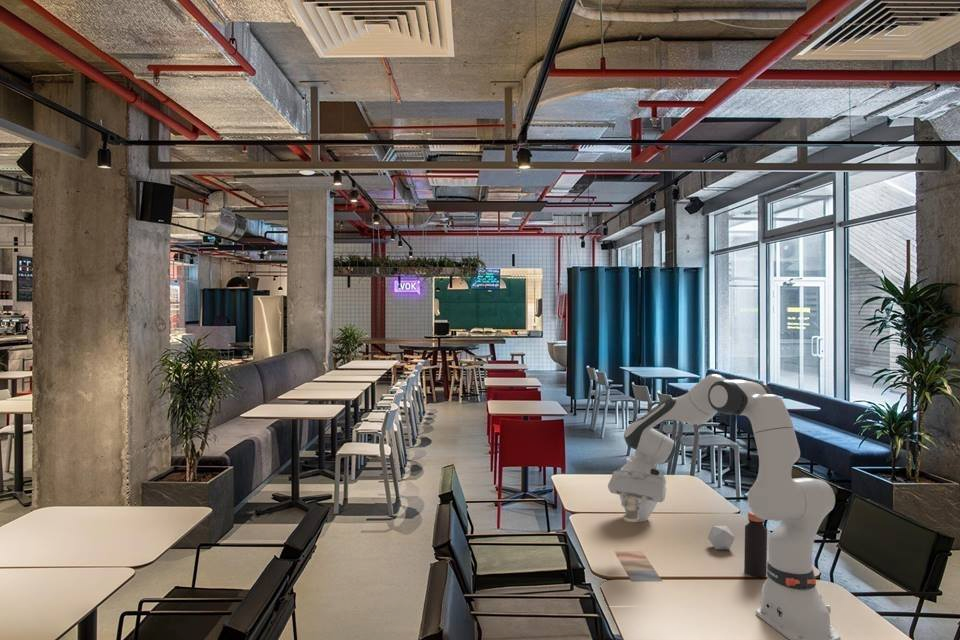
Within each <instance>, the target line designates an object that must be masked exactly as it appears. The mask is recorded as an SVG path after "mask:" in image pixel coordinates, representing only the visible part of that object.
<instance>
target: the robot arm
mask: <svg viewBox="0 0 960 640" xmlns="http://www.w3.org/2000/svg"><path fill="white" fill-rule="evenodd" d="M718 412H719V413H721V414H724V415H733V416H745V417H747V418H748V420H749V421H750V424H751V428H752V432H753V436H754V441H755V445H756V451H757V454H758V460H759V461H758V464H759V465H758V473H757V476H756V479H755V481H754V483H753V485H751V487H750V489H749V490H748V493H747V503H748V507H749V509H750V511H752V512H753V513H754V514H755V515H756V516H757V517H758V518H760V519H764V521H765V520H766V521H772V522H773V521H774V522H780V523H779V525H778V526H777V527H776V528H775V529H774V530H773V531H772V532H771V533H770V535H769V539H768V541H769V542H768V544H769V545H768V561H767V572H766V576H767V578H766V580H765V582H764V583H763V585H762V587H761V597H760V607H758V608H756V610H755V615H756V616H757V617H759V618H760V619H761V620H763V621H765V623H767V624H768V625H769V626H771V627H772V628H773V629H774V630H776V631H777V632H779V633H780V634H781V635H782V636H784V637H785V638H787V639H788V640H841V636H840V634H839V632H838V631H837V630H836V629H835V626H833V625H832V622H831V619H830V618H831V617H830V614H831V611H832V610H831V609H832V608H831V605H830V604H825V603H824V601H823V597H822V594H820V593H819V591H818V589H817V587H816V585H817V582H816V581H817V579H816V575H815V572H814V569H813V554H814V553H813V552H814V551H813V550H814V544H815V538H816V536H817V533H818V530H819V528H820V526H821V524H822V522H823V520H824V519H825V518H826V517H827V515H828V514H829V513H831V511H833V509H834V508H835V504H836V495H835V493H834V490H833V488H832V487H831V485H830V484H829V483H828V482H826V481H825V480H823V479H819V478H814V477H813V478H812V477H798V478H797V477H796V478H792V469H793V466H794V464H795V463H796V462H797V461H798V460H799V459H800V456H801V449H800V445H799V443H798V438H797V435H796V432H795V428H794V424H793V421H792V419H791V416H790V413H789V411H788V409H787V406H786V405H785V402H784V400H783V399H782V398H781V397H780V396H778V395H777V394H773V391H772V390H771V388H770V387H769V386H768V385H766V384H764V383H762V382H759V381H750V380H746V379H745V380H744V379H728V378H726V377H724V376H723V375H721V374H717V373H711V374H708V375H707V376H705V377H703V378H702V379H701V380H700V381H699V382H697V383H696V384H695V385H694V386H692V388H691V389H690V390H689V391H687V392H686V393H685V394H683V395H680V396H676V397H669V398H667V399H665V400H663V401H662V402H660V403H659V404H658V405H657V406H655V407H654V408H653V409H651V410H650V411H648V412H647V413H646V414H644V415H643V416H641V417H640V418H638V419H636V420H634V421H632V422H631V423H630V424H629V425H628V426H627V427H626V429H625V431H624V433H623V439H624V441H625V443H626V445H627V447H629V448H631V449H633V450H634V456H635V457H634V459H633V460H632V463H631V466H630V469H629V471H624V470H620V469H617V470H614V471H613V472H612V474H611V477H610V479H609V482H608V484H607V487H608V491H609V492H610V493H611V494H614V495H621V497H622V502H621V506H622V507H623V506H624V507H626V500H625V499H624V498H626V497H627V496H629V495H634V496H635V497H636V498H640V499H642V501H641V502H640V503H637V505H636V508H637V509H639V510H641V509H642V506H643V505H644V504H645V503H647V500H650V501H655V502H657V503H663V502H664V501H665V498H666V493H667V488H666V485H667V479H666V476H665V474H664V473H663V472H662V470H659V469H656V468H657V465H660V466H661V465H664V464H667V463H671V461H672V460H673V458H674V457H675V453H676V452H677V451H676V450H677V447H676V442H675V440H674V439H672V438H671V437H669V436H668V435H666V434H664V433H662V432H660V431H658V430H657V429H655V428H654V427H656V426H657V425H659V424H660V423H661V422H663V421H667V420H671V421H677V422H683V423H685V424H689V425H703V424H706V422H709V421H710V420H711V419H712V418H713V417H714V416H715V415H717V414H718ZM624 507H623V508H624Z"/></svg>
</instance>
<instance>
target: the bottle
mask: <svg viewBox="0 0 960 640" xmlns="http://www.w3.org/2000/svg"><path fill="white" fill-rule="evenodd" d="M747 520H748V523H746V525H744V559H743V561H744V565H743V567H744V569H743V570H744V573H746V574H747V575H750V576H752V577H755V578H756V577H757V578H758V577H759V578H761V577H765V576H767V562H768V561H767V560H768V557H767V556H768V555H767V554H768V552H767V551H768V528H767V527H766V526H765V525H764V523H765V519H760V518H758V517H757V516H756V515H755V514H754V513H753V512H752V511H751V510H749V511H748V512H747Z"/></svg>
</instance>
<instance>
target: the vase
mask: <svg viewBox="0 0 960 640" xmlns="http://www.w3.org/2000/svg"><path fill="white" fill-rule="evenodd" d="M634 457H635V455H633V456H629V457H626V463H625V464H624V465H623V466H622V467H621V468H620V469H619V470H624V471H629V469H630V466H631V463H632V460H633V459H634ZM618 495H619V494H618ZM619 498H620V502H621V503H622V497H621V495H619ZM626 498H627V497H626ZM626 498H624V499H625V500H626ZM637 500H638V503H640V502H641V501H642V499H640V498H637ZM657 504H658V502H655V501H650V500H647V503H645V504H644V505H643V506H642V509H641V510H639V509H637V516H639V517H640V521H639V522H646V521H648V519H649V518H650V517H651V516H652V514H653V512H654V510H655V508H656V506H657ZM622 507H623V509H624V511H625V512H626V507H624V506H622ZM639 522H638V523H639Z"/></svg>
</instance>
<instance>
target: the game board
mask: <svg viewBox="0 0 960 640" xmlns="http://www.w3.org/2000/svg"><path fill="white" fill-rule="evenodd" d="M614 553H615V555H616V557H617V559H618V560H619V562H620V565H621V566H622V567H623V569H624V571H625V572H626V575H627V576H628V578H629V580H630V582H663V580H662V578H661V577H660V576H659V574H658V572H657V571H656V570H655V568H654V567H653V565H652V563H651V562H650V561H649V559H648V558H647V556H646V555H645V553H644V551H642V550H641V551H637V550H633V551H632V550H630V551H629V550H628V551H627V550H626V551H625V550H624V551H622V550H621V551H618V550H617V551H615V550H614Z"/></svg>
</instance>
